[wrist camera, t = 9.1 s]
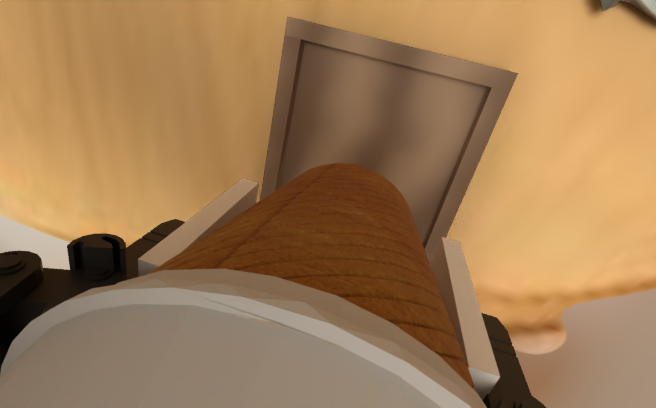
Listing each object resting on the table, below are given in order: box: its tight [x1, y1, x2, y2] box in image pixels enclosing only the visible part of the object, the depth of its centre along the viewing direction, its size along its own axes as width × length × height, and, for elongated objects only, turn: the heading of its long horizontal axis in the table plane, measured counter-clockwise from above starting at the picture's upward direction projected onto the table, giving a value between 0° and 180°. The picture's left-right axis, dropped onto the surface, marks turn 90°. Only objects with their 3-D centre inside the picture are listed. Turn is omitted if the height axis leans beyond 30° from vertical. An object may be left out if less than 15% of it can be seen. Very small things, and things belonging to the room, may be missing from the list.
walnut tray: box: [260, 17, 518, 263], centre depth 28 cm, size 16×16×2 cm
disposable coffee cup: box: [0, 163, 487, 408], centre depth 10 cm, size 10×10×12 cm
